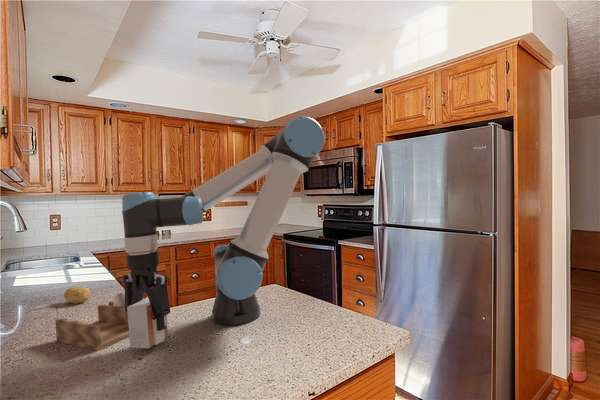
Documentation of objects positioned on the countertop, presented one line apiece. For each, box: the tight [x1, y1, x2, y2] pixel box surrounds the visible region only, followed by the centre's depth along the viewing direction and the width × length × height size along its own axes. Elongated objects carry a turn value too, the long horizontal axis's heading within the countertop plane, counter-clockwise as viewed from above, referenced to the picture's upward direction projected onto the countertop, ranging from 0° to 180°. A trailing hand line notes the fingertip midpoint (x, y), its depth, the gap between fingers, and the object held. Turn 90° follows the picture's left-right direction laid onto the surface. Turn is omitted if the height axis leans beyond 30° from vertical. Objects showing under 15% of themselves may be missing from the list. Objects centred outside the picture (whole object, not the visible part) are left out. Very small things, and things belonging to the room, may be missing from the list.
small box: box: [127, 296, 169, 349], centre depth 84 cm, size 8×6×10 cm
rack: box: [55, 291, 131, 352], centre depth 96 cm, size 18×20×10 cm
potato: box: [63, 286, 91, 304], centre depth 127 cm, size 7×11×6 cm, turn 64°
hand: (149, 340), depth 84 cm, fingers closed on small box, 6 cm apart
